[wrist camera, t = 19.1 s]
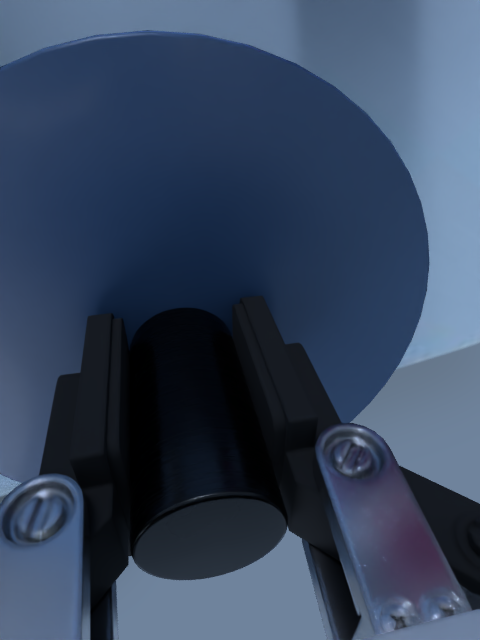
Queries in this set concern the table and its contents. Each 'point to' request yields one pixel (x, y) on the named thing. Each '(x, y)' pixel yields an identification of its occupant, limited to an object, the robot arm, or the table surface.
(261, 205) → the lid
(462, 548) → the robot arm
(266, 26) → the table surface
